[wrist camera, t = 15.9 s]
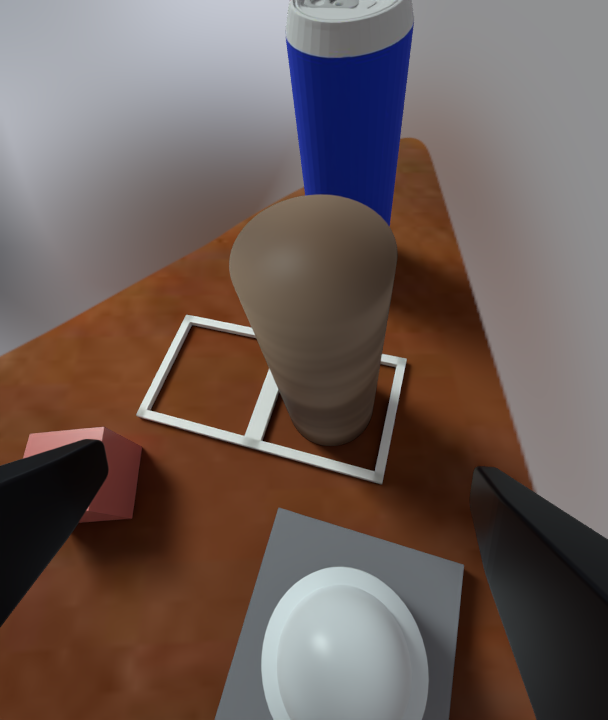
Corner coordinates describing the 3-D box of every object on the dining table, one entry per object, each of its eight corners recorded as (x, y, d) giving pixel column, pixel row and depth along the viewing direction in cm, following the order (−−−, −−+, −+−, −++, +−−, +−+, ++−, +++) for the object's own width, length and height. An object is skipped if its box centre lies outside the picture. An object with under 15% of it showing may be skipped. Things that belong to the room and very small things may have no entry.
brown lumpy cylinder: (364, 455, 21) (381, 338, 10) (279, 435, 22) (205, 309, 11) (379, 375, 23) (408, 202, 12) (301, 360, 24) (257, 188, 13)
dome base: (430, 818, 15) (436, 838, 14) (219, 721, 17) (210, 732, 16) (457, 564, 18) (464, 564, 17) (282, 510, 20) (278, 507, 19)
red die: (132, 518, 21) (82, 509, 17) (63, 523, 21) (-2, 516, 17) (142, 446, 23) (99, 424, 19) (78, 452, 23) (23, 431, 19)
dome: (404, 773, 14) (427, 867, 10) (253, 707, 15) (216, 764, 11) (428, 591, 16) (454, 603, 12) (296, 548, 18) (279, 545, 14)
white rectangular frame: (381, 484, 20) (382, 483, 20) (139, 417, 24) (135, 415, 23) (405, 361, 24) (406, 359, 23) (188, 317, 27) (186, 314, 27)
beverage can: (388, 237, 28) (421, -42, 15) (381, 292, 26) (413, 22, 13) (320, 233, 29) (295, -33, 16) (308, 286, 27) (268, 28, 14)
